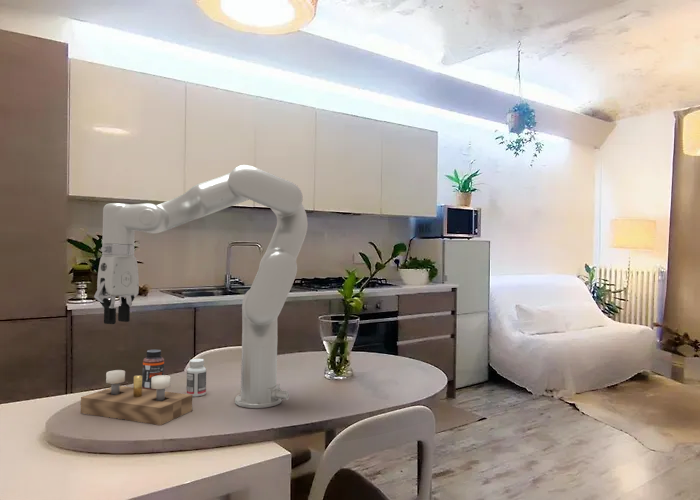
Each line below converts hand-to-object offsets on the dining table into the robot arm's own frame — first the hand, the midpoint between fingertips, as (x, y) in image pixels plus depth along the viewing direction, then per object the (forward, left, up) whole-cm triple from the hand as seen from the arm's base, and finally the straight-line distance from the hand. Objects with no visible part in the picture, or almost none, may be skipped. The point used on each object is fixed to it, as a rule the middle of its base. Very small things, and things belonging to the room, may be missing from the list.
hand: (116, 321), depth 131 cm
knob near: (-14, 0, -18) cm, 23 cm away
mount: (-7, 0, -22) cm, 23 cm away
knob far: (0, 0, -18) cm, 18 cm away
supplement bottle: (+4, -19, -23) cm, 30 cm away
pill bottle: (-11, -19, -23) cm, 31 cm away
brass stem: (-7, 0, -18) cm, 20 cm away
